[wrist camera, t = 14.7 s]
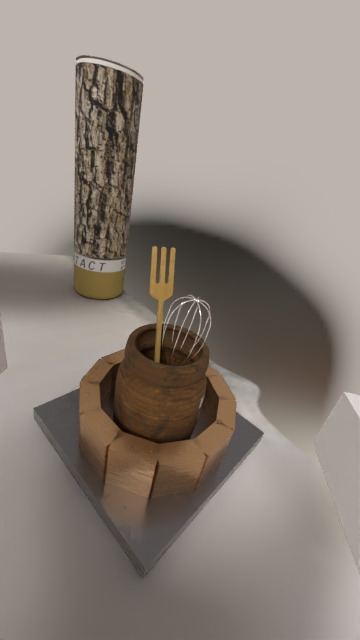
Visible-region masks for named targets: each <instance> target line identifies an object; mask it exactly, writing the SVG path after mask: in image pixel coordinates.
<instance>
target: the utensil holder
mask: <svg viewBox="0 0 360 640" xmlns="http://www.w3.org/2000/svg"><path fill="white" fill-rule="evenodd" d="M166 251H167V249H166V247H163V248H162V250H161V264H160V277H159V282H158V283H156V265H157V247H156V246H153V248H152V259H151V275H150V291H149V293H150V296H152V297H153V298H155V299H157V301H158V308H157V324H149V325H145V326H142V327H139V328H137V329H136V330H134V331H133V332H132V333H131V335H130V336H129V338H128V341H127V344H126V347H125V353H124V356H125V357H124V359H123V360H122V362H121V364H120V366H119V369H118V373H117V378H116V385H115V394H114V405H113V422H114V423H115V424H116V425H117V426H118V427H119V429H120V430H121V431H122V432H125V433H128V434H131V435H134V436H137V437H140V438H143V439H146V440H149V441H151V442H154V443H157V444H162V443H169V442H176V441H184V440H189V439H190V437H191V435H192V433H193V431H194V429H195V426H196V423H197V420H198V417H199V414H200V410H201V407H202V404H203V400H204V396H205V392H206V385H207V379H206V374H205V373H206V371H207V369H208V364H209V349H208V347H207V345H206V343H205V340H206V338H205V340H203V339H201V336H202V334H203V332H204V330H203V332H202V334H201V336H200V337H199V336H198V334H199V331H200V327H199V331H198V334H195V333H193V332H192V331H190V330H188V329H185V328H183V327H180V326H176V325H171V324H168V322H167V324H162V315H163V303H164V301H165V300H166V299H168V298H169V297H171V296H172V294H173V283H174V266H175V251H176V249H175V248H171V252H170V264H169V276H168V283H165V268H166ZM187 296H192V295H187ZM187 296H186V297H181V298H184V299H185V298H190V297H187ZM192 297H194V296H192ZM181 298H178V299H181ZM198 298H199V300H197V299H198ZM198 298H197V299H196V298H195V297H194V298H191V299H194V301H196V302H197V301H198V302H197V304H198V306H199V302H200V301H203V300H200V297H198ZM178 299H177V300H178ZM177 300H176V301H177ZM183 301H184V300H183ZM183 301H182V304H184V303H186V302H188V301H186V302H183ZM189 301H193V300H189ZM174 302H175V301H174ZM174 302H173V303H174ZM203 302H205V301H203ZM173 303H172V305H173ZM200 303H201V302H200ZM205 303H206V302H205ZM182 304H180V305H181V306H182ZM193 304H194V303H193ZM193 304H192V306H193ZM201 304H203V303H201ZM206 304H207V303H206ZM172 305H171V306H172ZM180 305H179V306H180ZM203 305H204V304H203ZM207 305H208V304H207ZM179 306H178V307H179ZM181 306H180V309H181ZM192 306H191V308H192ZM198 306H197V308H198ZM178 307H176V309H177V308H178ZM204 307H206V306H205V305H204ZM208 307H209V305H208ZM191 308H190V309H191ZM197 308H196V311H197ZM170 309H171V307H170ZM170 309H169V311H170ZM176 309H175V310H176ZM190 309H189V311H190ZM206 309H207V308H206ZM175 310H173V312H174V311H175ZM199 310H200V306H199ZM169 311H168V314H169ZM179 311H180V310H179ZM189 311H188V312H189ZM196 311H195V314H196ZM207 311H208V309H207ZM173 312H172V313H173ZM172 313H171V315H172ZM178 313H179V312H178ZM208 313H209V316H210V307H209V311H208ZM168 314H167V317H168ZM195 314H194V316H195ZM171 315H170V317H171ZM187 315H188V313H187ZM187 315H186V317H187ZM209 316H208V319H209ZM167 317H166V320H167ZM170 317H169V319H170ZM177 317H178V315H177ZM169 319H168V321H169ZM176 319H177V318H176ZM185 319H186V318H185ZM193 319H194V317H193ZM193 319H192V321H193ZM208 319H207V321H208ZM166 320H165V323H166ZM184 322H185V320H184ZM184 322H183V324H184ZM175 324H176V322H175ZM183 324H182V326H183ZM191 324H192V323H191ZM206 324H207V322H206ZM206 324H205V327H206ZM210 325H211V316H210ZM200 326H201V310H200ZM190 327H191V325H190ZM205 327H204V329H205ZM189 329H190V328H189ZM209 329H210V327H209ZM208 332H209V330H208ZM208 332H207V335H208ZM207 335H206V337H207Z"/></svg>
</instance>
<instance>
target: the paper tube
mask: <svg viewBox="0 0 360 640" xmlns="http://www.w3.org/2000/svg"><path fill="white" fill-rule="evenodd" d="M76 60H77V63H76V98H75V100H76V101H75V212H74V213H75V214H74V215H75V216H74V217H75V218H74V219H75V221H74V287H75V289H76V291H77V292H78V293H79V294H81V295H83V296H85V297H88V298H93V299H111V298H114V297H117V296H118V295H120V294H121V292H122V290H123V282H124V272H125V264H126V253H127V243H128V232H129V223H130V213H131V203H132V192H133V183H134V173H135V163H136V153H137V143H138V133H139V123H140V112H141V102H142V92H143V77H142V76H141V75H140V74H139V73H138V72H136V71H134V70H133V69H131V68H129V67H127V66H125V65H122V64H120V63H117V62H114V61H111V60H108V59H104V58H100V57H95V56H86V55H83V56H78V57H77V58H76Z"/></svg>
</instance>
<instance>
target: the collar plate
mask: <svg viewBox="0 0 360 640" xmlns="http://www.w3.org/2000/svg"><path fill="white" fill-rule="evenodd" d="M124 353H125V349H123V350H120V351H118V352H115V353H112V354H110V355H107V356H104V357H102V358H101V359H99V360H98V361H97V362H96V363H95V365H94V366H93V367H92V368H91V369H90V370H89V371H88V373H87V374H86V375H85V376H84V377H83V378H82V379H81V382H80V388H79V389H77V390H75V391H72V392H70V393H68V394H65V395H63V396H61V397H59V398H56V399H54V400H52V401H49V402H47V403H45V404H43V405H40V406H38V407H36V408H34V419H35V420H36V422H37V423H38V425H39V426H40V428H41V429H42V430H43V432H44V433H45V435H46V436H47V438H48V439H49V441H50V442H51V444H52V445H53V447H54V448H55V450H56V451H57V453H58V454H59V456H60V457H61V459H62V460H63V461H64V463H65V464H66V466H67V467H68V469H69V470H70V472H71V473H72V475H73V476H74V478H75V479H76V481H77V482H78V484H79V485H80V487H81V488H82V489H83V491H84V492H85V494H86V495H87V497H88V498H89V500H90V501H91V503H92V504H93V506H94V507H95V509H96V510H97V512H98V513H99V515H100V516H101V517H102V519H103V520H104V522H105V523H106V525H107V526H108V528H109V529H110V531H111V532H112V534H113V535H114V537H115V538H116V540H117V541H118V543H119V544H120V546H121V547H122V548H123V550H124V551H125V553H126V554H127V556H128V557H129V559H130V560H131V562H132V563H133V565H134V566H135V568H136V569H137V571H138V572H139V574H140V575H141V576H142V578H143V577H144V576H145V575H146V574H147V573H148V572H149V570H150V569H151V568H152V567H153V566H154V565H155V563H156V562H157V561H158V560H159V559H160V558H161V556H162V555H163V554H164V553H165V552H166V551H167V549H168V548H169V547H170V546H171V545H172V544H173V542H174V541H175V540H176V539H177V538H178V537H179V535H180V534H181V533H182V532H183V531H184V530H185V528H186V527H187V526H188V525H189V524H190V523H191V521H192V520H193V519H194V518H195V517H196V516H197V514H198V513H199V512H200V511H201V510H202V509H203V507H204V506H205V505H206V504H207V503H208V502H209V500H210V499H211V498H212V497H213V496H214V495H215V493H216V492H217V491H218V490H219V489H220V488H221V486H222V485H223V484H224V483H225V482H226V481H227V479H228V478H229V477H230V476H231V475H232V474H233V472H234V471H235V470H236V469H237V468H238V467H239V465H240V464H241V463H242V462H243V461H244V460H245V458H246V457H247V456H248V455H249V454H250V453H251V451H252V450H253V449H254V448H255V447H256V446H257V444H258V443H259V442H260V440H261V438H262V436H263V434H264V433H263V432H262V431H260V430H259V429H258V428H256V427H255V426H254V425H253V424H251V423H250V422H249V421H247V420H246V419H245V418H243V417H242V416H241V415H239V414H238V413H237V412H236V401H235V400H236V398H235V397H234V395H233V394H232V392H231V390H230V389H229V387H228V385H227V384H226V382H225V381H224V379H223V377H222V376H221V375H219V373H218V372H217V371H215V370H214V369H213V368H211V367H210V366H208V369H207V371H206V373H205V374H206V379H207V385H206V392H205V396H204V400H203V404H202V407H201V410H200V414H199V417H198V420H197V423H196V426H195V429H194V431H193V433H192V435H191V437H190V439H189V440H184V441H176V442H169V443H162V444H157V443H154V442H151V441H149V440H146V439H143V438H140V437H137V436H134V435H131V434H128V433H125V432H122V431H121V430H120V429H119V427H118V426H117V425H116V424H115V423H114V422H113V405H114V394H115V385H116V378H117V373H118V369H119V366H120V364H121V362H122V360H123V359H124V357H125V356H124Z"/></svg>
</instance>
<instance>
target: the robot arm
mask: <svg viewBox="0 0 360 640" xmlns="http://www.w3.org/2000/svg"><path fill="white" fill-rule="evenodd" d="M6 368H7V361H6V354H5V346H4V338H3V331H2V323H1V316H0V374H1V373H2V372H3V371H4V370H5V369H6ZM313 444H314V446H315V449H316V452H317V455H318V458H319V461H320V463H321V466H322V469H323V472H324V475H325V478H326V480H327V483H328V486H329V489H330V492H331V494H332V497H333V500H334V503H335V506H336V508H337V511H338V514H339V517H340V520H341V523H342V525H343V528H344V531H345V534H346V537H347V539H348V542H349V545H350V548H351V551H352V554H353V556H354V559H355V562H356V565H357V568H358V570H359V573H360V395H356V394H351V393H347V392H344V393H343V394H342V396H341V397H340V399H339V401H338V402H337V404H336V406H335V407H334V409H333V410H332V412H331V414H330V415H329V417H328V418H327V420H326V422H325V423H324V425H323V427H322V428H321V430H320V431H319V433H318V435H317V436H316V438H315V439H314V441H313Z"/></svg>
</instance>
